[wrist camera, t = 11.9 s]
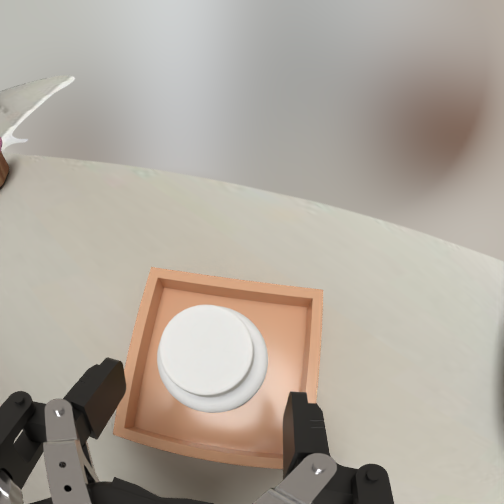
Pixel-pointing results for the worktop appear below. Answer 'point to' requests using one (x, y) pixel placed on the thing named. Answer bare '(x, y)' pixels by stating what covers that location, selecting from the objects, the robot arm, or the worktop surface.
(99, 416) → the robot arm
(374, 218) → the worktop surface
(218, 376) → the supplement bottle
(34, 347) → the worktop surface
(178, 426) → the terracotta dish
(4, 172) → the cupcake
